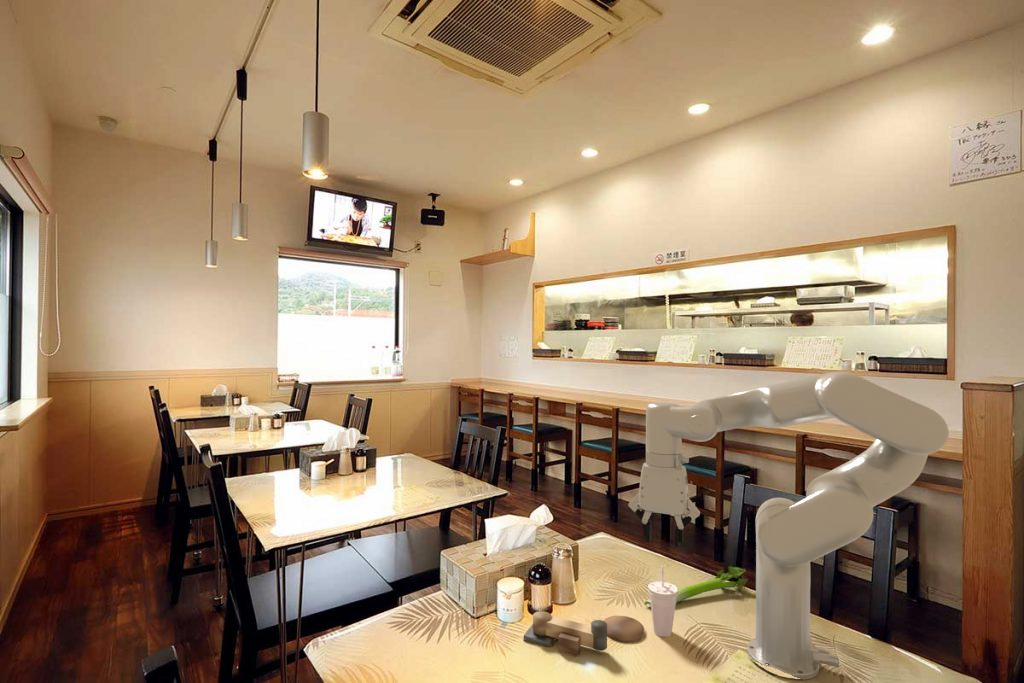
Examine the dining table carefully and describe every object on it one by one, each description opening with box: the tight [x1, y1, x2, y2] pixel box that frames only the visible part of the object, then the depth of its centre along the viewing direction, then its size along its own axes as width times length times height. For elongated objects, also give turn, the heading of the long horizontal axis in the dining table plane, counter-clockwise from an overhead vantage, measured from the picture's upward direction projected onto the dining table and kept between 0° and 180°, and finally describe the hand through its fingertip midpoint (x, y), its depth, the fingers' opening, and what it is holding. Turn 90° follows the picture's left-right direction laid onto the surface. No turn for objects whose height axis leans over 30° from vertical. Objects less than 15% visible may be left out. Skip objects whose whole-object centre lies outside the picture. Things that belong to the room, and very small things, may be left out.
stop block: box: [557, 632, 581, 658], centre depth 104 cm, size 4×2×3 cm, turn 65°
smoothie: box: [647, 565, 679, 638], centre depth 111 cm, size 6×6×14 cm
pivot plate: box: [523, 623, 557, 648], centre depth 109 cm, size 6×6×1 cm
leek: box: [644, 565, 748, 606], centre depth 126 cm, size 6×7×30 cm
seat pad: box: [603, 615, 645, 643], centre depth 112 cm, size 9×9×1 cm
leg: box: [532, 610, 608, 652], centre depth 106 cm, size 16×4×4 cm, turn 64°
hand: (663, 542), depth 111 cm, fingers open, 5 cm apart
